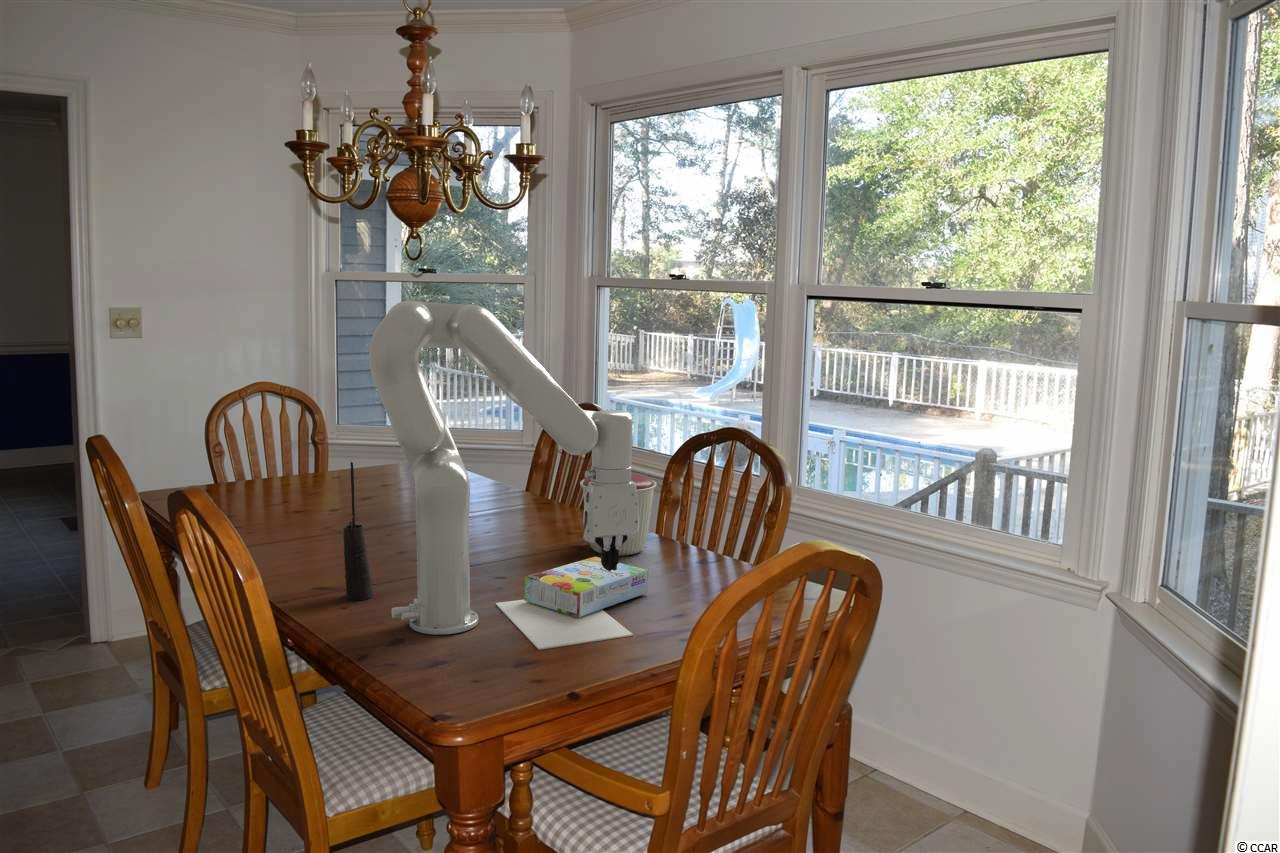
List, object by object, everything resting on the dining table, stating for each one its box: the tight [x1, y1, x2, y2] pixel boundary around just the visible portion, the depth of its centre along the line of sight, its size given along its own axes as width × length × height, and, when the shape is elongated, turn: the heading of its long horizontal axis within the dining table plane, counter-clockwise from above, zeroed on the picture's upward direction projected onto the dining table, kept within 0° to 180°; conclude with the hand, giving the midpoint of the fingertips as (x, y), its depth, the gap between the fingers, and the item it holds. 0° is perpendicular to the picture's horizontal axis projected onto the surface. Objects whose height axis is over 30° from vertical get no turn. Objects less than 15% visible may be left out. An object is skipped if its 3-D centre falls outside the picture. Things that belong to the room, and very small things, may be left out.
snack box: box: [523, 556, 649, 617], centre depth 200 cm, size 21×6×15 cm
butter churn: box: [343, 461, 374, 602], centre depth 199 cm, size 9×10×28 cm
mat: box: [495, 599, 634, 651], centre depth 189 cm, size 18×26×1 cm
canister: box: [579, 472, 657, 557], centre depth 235 cm, size 18×18×21 cm
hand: (609, 568), depth 191 cm, fingers closed
